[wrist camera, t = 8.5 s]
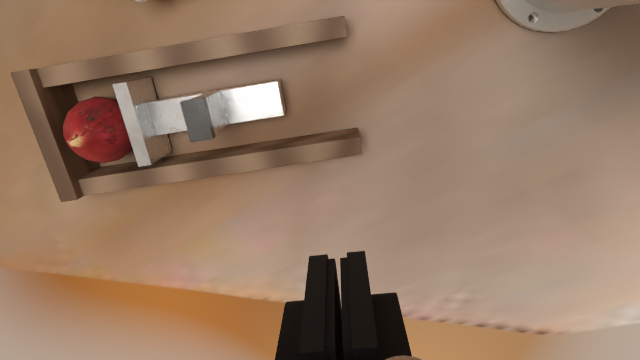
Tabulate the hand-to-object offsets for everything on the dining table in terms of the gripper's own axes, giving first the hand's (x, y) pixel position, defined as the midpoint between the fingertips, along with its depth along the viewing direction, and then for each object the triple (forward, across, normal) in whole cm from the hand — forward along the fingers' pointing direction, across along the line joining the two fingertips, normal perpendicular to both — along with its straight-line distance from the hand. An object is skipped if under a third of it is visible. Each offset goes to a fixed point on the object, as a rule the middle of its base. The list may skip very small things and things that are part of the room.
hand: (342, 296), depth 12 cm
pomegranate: (+29, +21, -2) cm, 36 cm away
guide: (+29, +12, -2) cm, 31 cm away
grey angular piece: (+29, +11, -2) cm, 31 cm away
